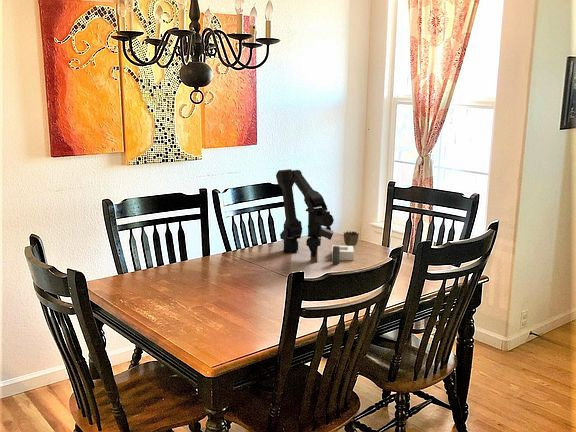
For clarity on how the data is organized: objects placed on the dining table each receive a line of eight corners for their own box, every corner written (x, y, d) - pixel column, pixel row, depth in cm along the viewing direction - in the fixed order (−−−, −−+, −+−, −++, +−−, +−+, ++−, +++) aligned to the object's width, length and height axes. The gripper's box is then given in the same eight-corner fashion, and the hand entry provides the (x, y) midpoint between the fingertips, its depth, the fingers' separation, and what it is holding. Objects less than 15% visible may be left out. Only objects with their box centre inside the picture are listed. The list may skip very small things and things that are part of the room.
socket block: (331, 259, 271) (331, 251, 270) (332, 253, 281) (332, 245, 280) (353, 260, 270) (353, 251, 269) (353, 254, 280) (353, 245, 279)
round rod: (332, 264, 264) (332, 247, 262) (332, 262, 267) (333, 245, 265) (339, 264, 263) (339, 247, 262) (339, 262, 266) (339, 245, 265)
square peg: (310, 262, 267) (310, 245, 266) (310, 260, 270) (311, 243, 269) (317, 262, 267) (317, 245, 265) (317, 260, 270) (317, 243, 268)
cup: (340, 247, 290) (340, 231, 289) (353, 245, 294) (353, 230, 292) (348, 251, 284) (348, 235, 282) (361, 249, 287) (361, 233, 285)
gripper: (332, 228, 255) (331, 262, 258) (332, 218, 273) (332, 250, 277) (306, 227, 256) (306, 261, 259) (308, 217, 274) (308, 249, 278)
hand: (314, 255), depth 268 cm, fingers closed on square peg, 3 cm apart
